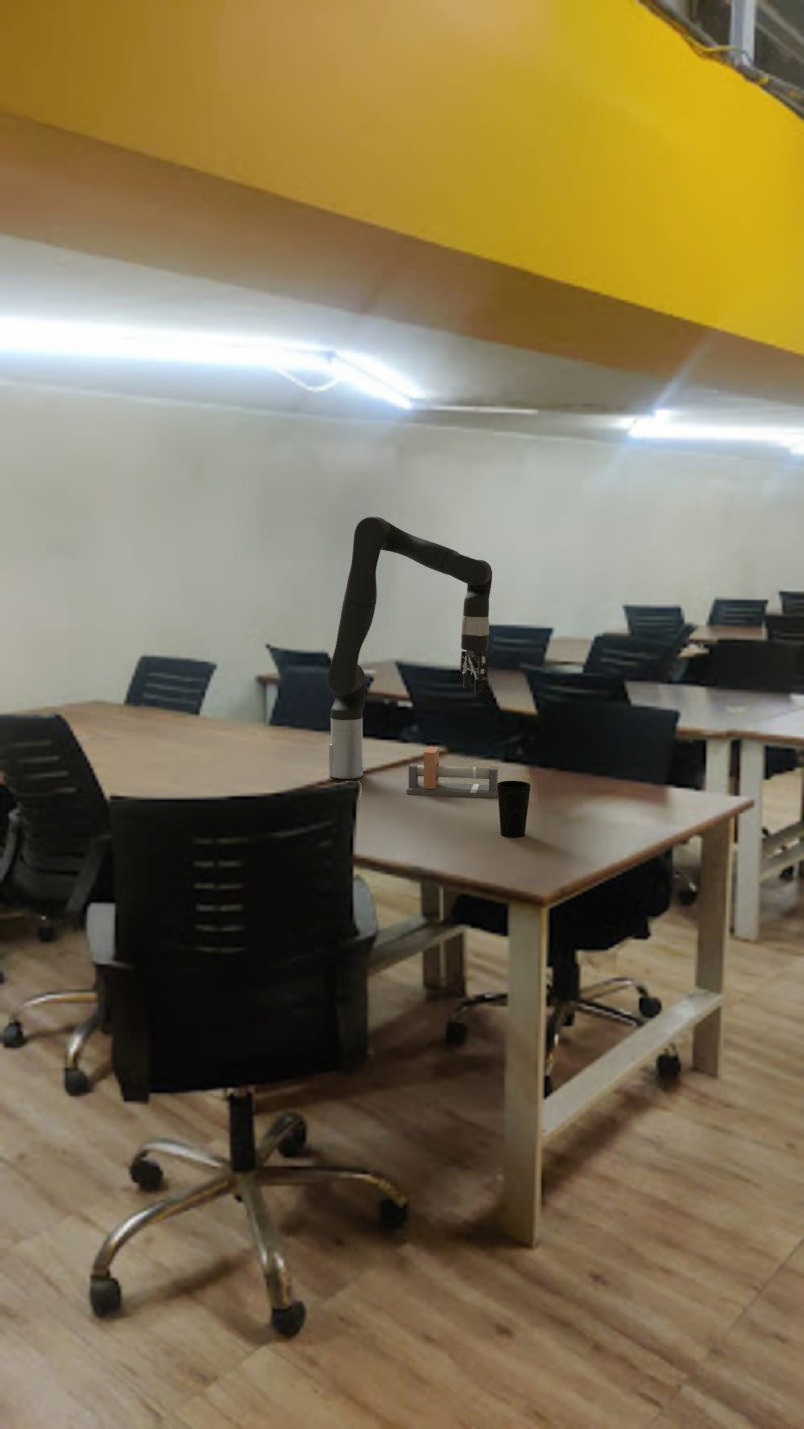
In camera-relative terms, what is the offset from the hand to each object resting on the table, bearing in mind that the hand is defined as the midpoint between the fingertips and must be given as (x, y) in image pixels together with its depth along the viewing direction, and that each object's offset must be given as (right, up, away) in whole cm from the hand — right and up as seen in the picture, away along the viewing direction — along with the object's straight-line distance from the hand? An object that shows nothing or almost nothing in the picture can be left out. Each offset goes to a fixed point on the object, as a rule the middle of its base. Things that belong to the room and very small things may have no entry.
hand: (472, 690), depth 286 cm
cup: (+6, -35, -47) cm, 59 cm away
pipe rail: (-6, -28, -5) cm, 29 cm away
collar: (-12, -26, -5) cm, 29 cm away
